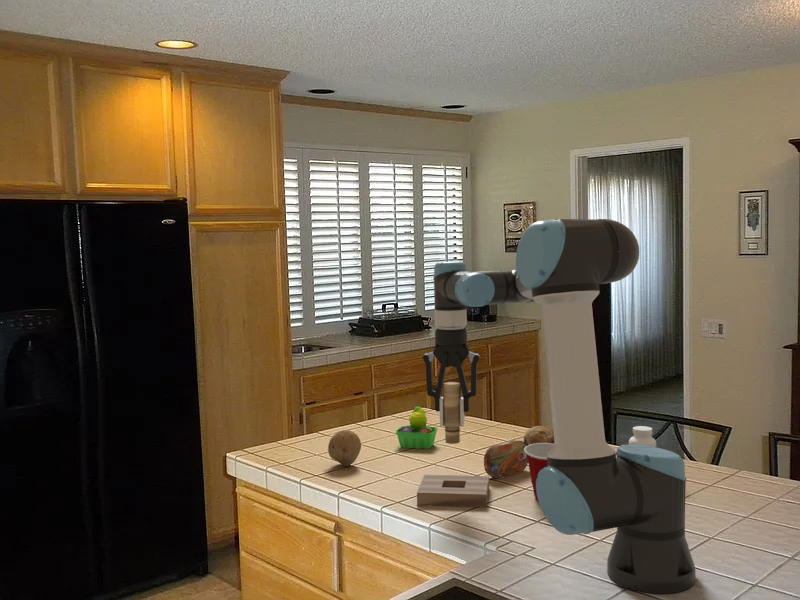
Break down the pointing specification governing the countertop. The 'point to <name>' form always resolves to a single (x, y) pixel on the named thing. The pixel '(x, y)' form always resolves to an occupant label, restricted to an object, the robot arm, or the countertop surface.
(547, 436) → the bread roll
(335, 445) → the natural sponge
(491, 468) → the tin
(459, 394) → the peg
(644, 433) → the supplement bottle
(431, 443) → the fruit basket
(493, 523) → the countertop surface
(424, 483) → the board
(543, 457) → the plastic cup
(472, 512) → the countertop surface
